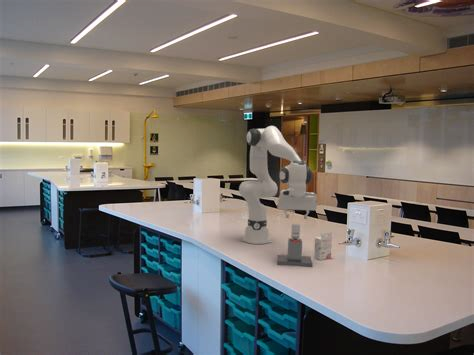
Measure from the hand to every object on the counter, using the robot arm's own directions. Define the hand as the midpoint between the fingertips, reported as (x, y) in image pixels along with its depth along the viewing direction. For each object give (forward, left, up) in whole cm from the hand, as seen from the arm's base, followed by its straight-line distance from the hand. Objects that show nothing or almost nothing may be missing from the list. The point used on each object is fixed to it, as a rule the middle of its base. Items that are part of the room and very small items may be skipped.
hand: (296, 218), depth 224 cm
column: (0, 0, -22) cm, 22 cm away
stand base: (0, 0, -24) cm, 24 cm away
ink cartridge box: (-12, +16, -24) cm, 31 cm away
